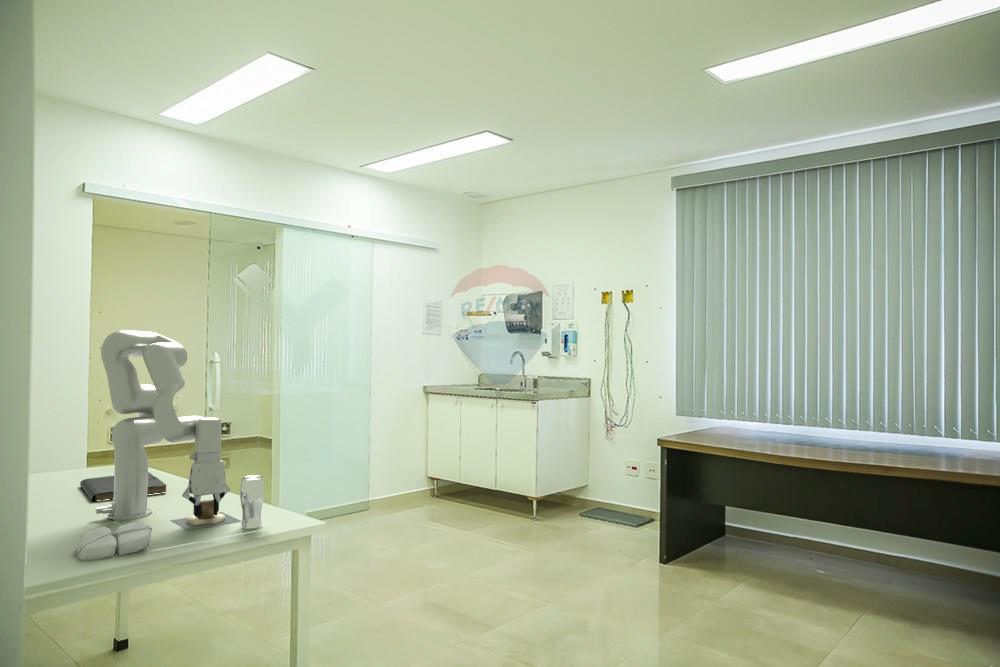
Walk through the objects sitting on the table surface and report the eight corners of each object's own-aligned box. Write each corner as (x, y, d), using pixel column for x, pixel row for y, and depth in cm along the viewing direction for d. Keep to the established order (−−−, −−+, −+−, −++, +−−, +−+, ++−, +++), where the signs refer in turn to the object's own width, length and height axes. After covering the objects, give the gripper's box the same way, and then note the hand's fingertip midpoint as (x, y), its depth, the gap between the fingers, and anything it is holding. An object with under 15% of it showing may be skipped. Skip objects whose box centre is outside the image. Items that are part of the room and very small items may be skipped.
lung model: (76, 563, 159) (70, 548, 179) (154, 553, 169) (140, 539, 189) (78, 536, 160) (71, 524, 180) (155, 527, 170) (141, 516, 190)
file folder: (167, 484, 239) (91, 493, 224) (167, 495, 239) (91, 505, 224) (149, 471, 265) (80, 478, 249) (149, 481, 265) (79, 489, 249)
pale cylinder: (243, 524, 197) (244, 475, 198) (266, 524, 198) (267, 475, 199) (235, 530, 191) (237, 479, 191) (259, 530, 191) (261, 479, 192)
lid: (194, 527, 192) (194, 507, 192) (181, 520, 199) (181, 501, 200) (230, 521, 199) (231, 501, 200) (216, 514, 207) (217, 496, 207)
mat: (188, 532, 188) (188, 530, 188) (169, 521, 199) (169, 520, 199) (241, 522, 199) (241, 521, 199) (221, 513, 211) (221, 512, 211)
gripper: (183, 461, 191) (181, 523, 191) (239, 455, 203) (237, 513, 203) (174, 458, 197) (173, 518, 196) (229, 453, 209) (228, 509, 208)
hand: (206, 515), depth 199 cm, fingers closed on lid, 4 cm apart
